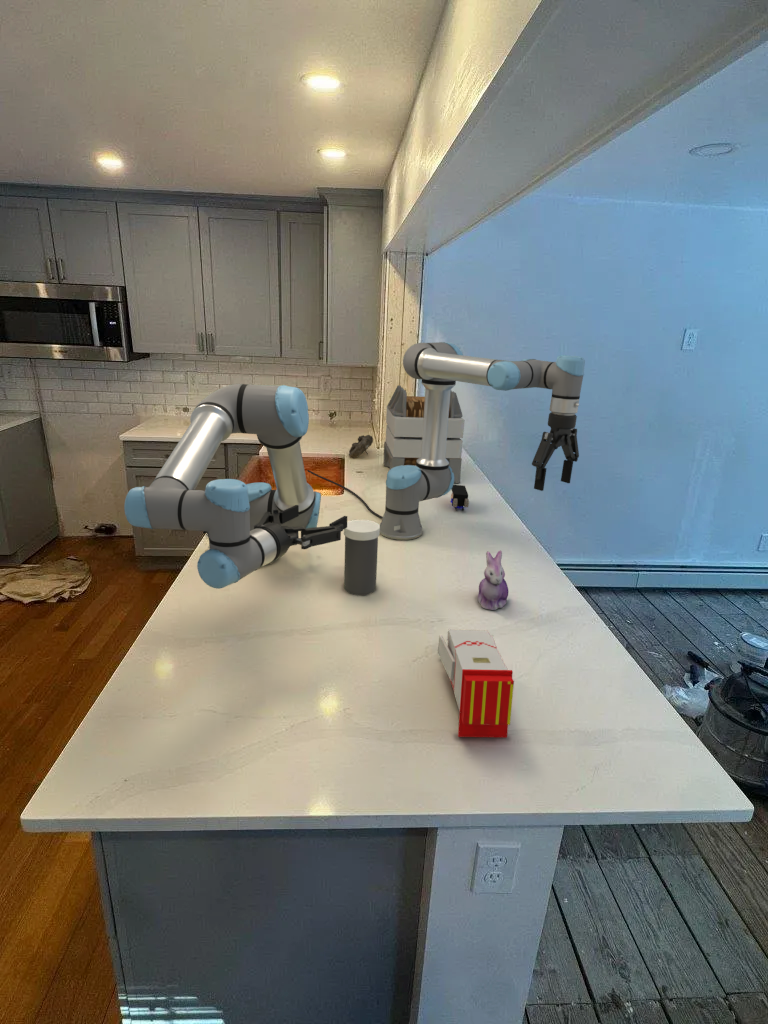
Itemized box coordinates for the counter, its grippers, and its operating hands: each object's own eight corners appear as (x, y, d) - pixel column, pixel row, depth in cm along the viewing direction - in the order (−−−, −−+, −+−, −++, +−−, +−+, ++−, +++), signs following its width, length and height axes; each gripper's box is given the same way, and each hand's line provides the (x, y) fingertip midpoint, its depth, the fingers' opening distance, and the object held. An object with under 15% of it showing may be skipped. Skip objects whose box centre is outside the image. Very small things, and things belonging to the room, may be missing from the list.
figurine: (490, 614, 149) (496, 562, 144) (467, 597, 157) (472, 547, 152) (518, 607, 153) (525, 556, 148) (494, 591, 162) (500, 542, 156)
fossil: (349, 441, 314) (370, 425, 309) (359, 454, 317) (380, 439, 312) (342, 454, 295) (365, 438, 290) (354, 468, 298) (376, 453, 293)
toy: (488, 613, 130) (523, 677, 101) (484, 667, 133) (517, 744, 104) (435, 612, 130) (455, 676, 101) (432, 666, 133) (451, 743, 103)
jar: (337, 586, 161) (338, 525, 155) (362, 577, 166) (364, 519, 160) (357, 598, 154) (359, 536, 148) (382, 589, 160) (385, 528, 154)
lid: (336, 532, 155) (336, 524, 154) (364, 524, 161) (364, 517, 161) (359, 543, 148) (359, 535, 148) (386, 535, 155) (387, 527, 154)
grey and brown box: (382, 463, 289) (386, 382, 275) (445, 464, 293) (451, 384, 279) (390, 482, 257) (394, 392, 243) (460, 483, 261) (468, 394, 247)
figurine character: (468, 516, 224) (463, 500, 237) (471, 498, 221) (465, 483, 234) (452, 515, 224) (447, 499, 237) (453, 498, 220) (449, 482, 234)
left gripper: (218, 548, 122) (278, 520, 140) (314, 576, 112) (366, 541, 130) (216, 516, 120) (278, 491, 138) (314, 541, 109) (367, 510, 127)
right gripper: (548, 419, 148) (537, 496, 155) (598, 411, 163) (586, 482, 171) (525, 414, 153) (515, 489, 160) (575, 407, 169) (564, 476, 176)
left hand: (321, 515), depth 134 cm, fingers open, 13 cm apart
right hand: (552, 485), depth 166 cm, fingers open, 13 cm apart
